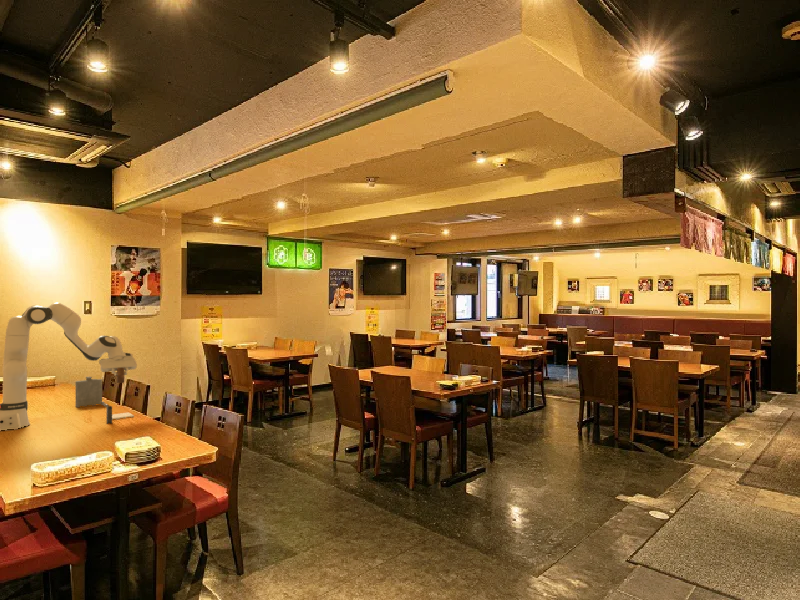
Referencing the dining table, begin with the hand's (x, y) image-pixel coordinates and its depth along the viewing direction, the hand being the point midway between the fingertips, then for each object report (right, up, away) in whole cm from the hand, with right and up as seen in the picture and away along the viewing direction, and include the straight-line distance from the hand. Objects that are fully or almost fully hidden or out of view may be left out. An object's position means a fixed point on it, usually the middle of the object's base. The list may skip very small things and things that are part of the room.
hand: (120, 374), depth 320 cm
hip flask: (-42, -27, +36) cm, 61 cm away
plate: (0, -26, 0) cm, 26 cm away
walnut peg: (0, -5, 0) cm, 5 cm away
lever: (-4, -26, -10) cm, 28 cm away
